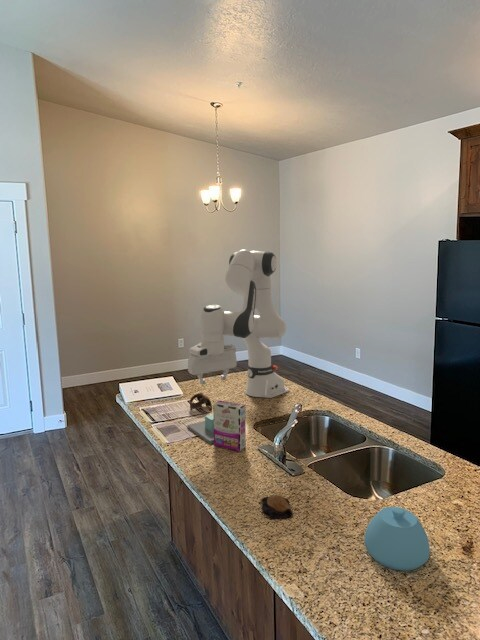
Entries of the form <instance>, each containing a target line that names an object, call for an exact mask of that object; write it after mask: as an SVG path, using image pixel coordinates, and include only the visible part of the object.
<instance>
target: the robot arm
mask: <svg viewBox="0 0 480 640" xmlns="http://www.w3.org/2000/svg"><path fill="white" fill-rule="evenodd" d="M228 261H229V262H228V267H227V270H226V273H225V284H226V285H227V287H228V288H229V289H230V290H231V291H233V292H234V293H236V294H238V295H241V296H242V297H243V304H242V305H243V306H242V310H240V311H227V310H223V307H222V306H221V305H219V304H209V305H206V306H204V307H202V311H201V315H200V330H201V338H200V339H201V340H200V342H199V343H197V344H196V345H194V346H192V347H190V348H189V353H190V355H189V356H188V361H187V372H188V373H189V374H190V375H192V376H197V377H198V379H199V384H200V385H201V386H202V385H206V379H204V378H203V376H204V374H207V373H214V372H219V371H223V373H222V374H221V375H220V380H221V381H226V380H227V376H228V374H229V371H230V369H235V368H236V367H237V364H238V362H237V361H238V360H237V355H236V350H237V349H236V347H235V345H233V344H228V345H226V344H225V337H224V336H226V337H235V338H240V339H242V340H243V342H244V343H245V345H246V349H247V355H248V364H247V382H246V383H247V384H246V388H245V392H244V394H245V395H246V396H247V395H248V396H250V397H254V398H266V399H267V398H268V399H272V398H274V397H277V396H280V395H282V394H286V393H288V392H290V389H289V388H288V387H287V386H286V385H285V381H284V379H283V377H281V376H280V375H279V374H278V373H276V372H275V371H277V370H278V368H279V366H277V365H275V364H274V365H272V352H271V349H270V347H269V346H267V345H266V344H265V343H263V342H262V340H261V339H269V340H270V339H271V340H274V339H281V338H283V336H284V335H285V334H286V331H287V323H286V321H285V320H284V318H283V317H281V316H280V315H279V314H278V312H277V311H276V310H275V308H274V305H273V301H272V299H273V298H272V279H271V275H273V273H275V272H276V269H277V265H278V264H277V257H276V255H275V254H274V252H271V251H268V250H267V251H261V250H248V249H239V250H238V251H236V252H235V251H234V252H233V253H232V254H231V255H230V257H229V260H228ZM255 310H256V311H257V313H259V314H255ZM274 370H275V371H274Z"/></svg>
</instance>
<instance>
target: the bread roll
mask: <svg viewBox="0 0 480 640" xmlns="http://www.w3.org/2000/svg"><path fill="white" fill-rule="evenodd" d="M259 501H260V505H261V510H262V511H263V514H264V516H265V517H266V519H267V520H269V521H274V520H275V521H276V520H288V519H293V517H294V516H293V512H292V510H291V504H290V501H289V500H288V499H287V498H286V497H284V496H282V495H279V494H274V495H273V494H271V495H270V496H265V497H263V498H261V499H260V500H259Z"/></svg>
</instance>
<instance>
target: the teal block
mask: <svg viewBox="0 0 480 640" xmlns="http://www.w3.org/2000/svg"><path fill="white" fill-rule="evenodd" d="M204 421H205V428H206V429H208V430H209V431H211V432H214V413H211V414H207V415H204Z"/></svg>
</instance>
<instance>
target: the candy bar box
mask: <svg viewBox="0 0 480 640" xmlns="http://www.w3.org/2000/svg"><path fill="white" fill-rule="evenodd" d="M246 408H247V407H246V404H243V403H236V402H232V401H224V400H218V401H217V402H214V403H213V404H212V410H213V414H214V443H213V446H214V447H217V448H221V449H225V450H231V451H235V452H237V453H239V452H240V453H241V451H243V450H244V449H246V447H247V446H246V444H247V443H246V442H247V441H246V440H247V439H246V432H247V431H246V427H247V426H246V424H247V421H246V410H247V409H246Z"/></svg>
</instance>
